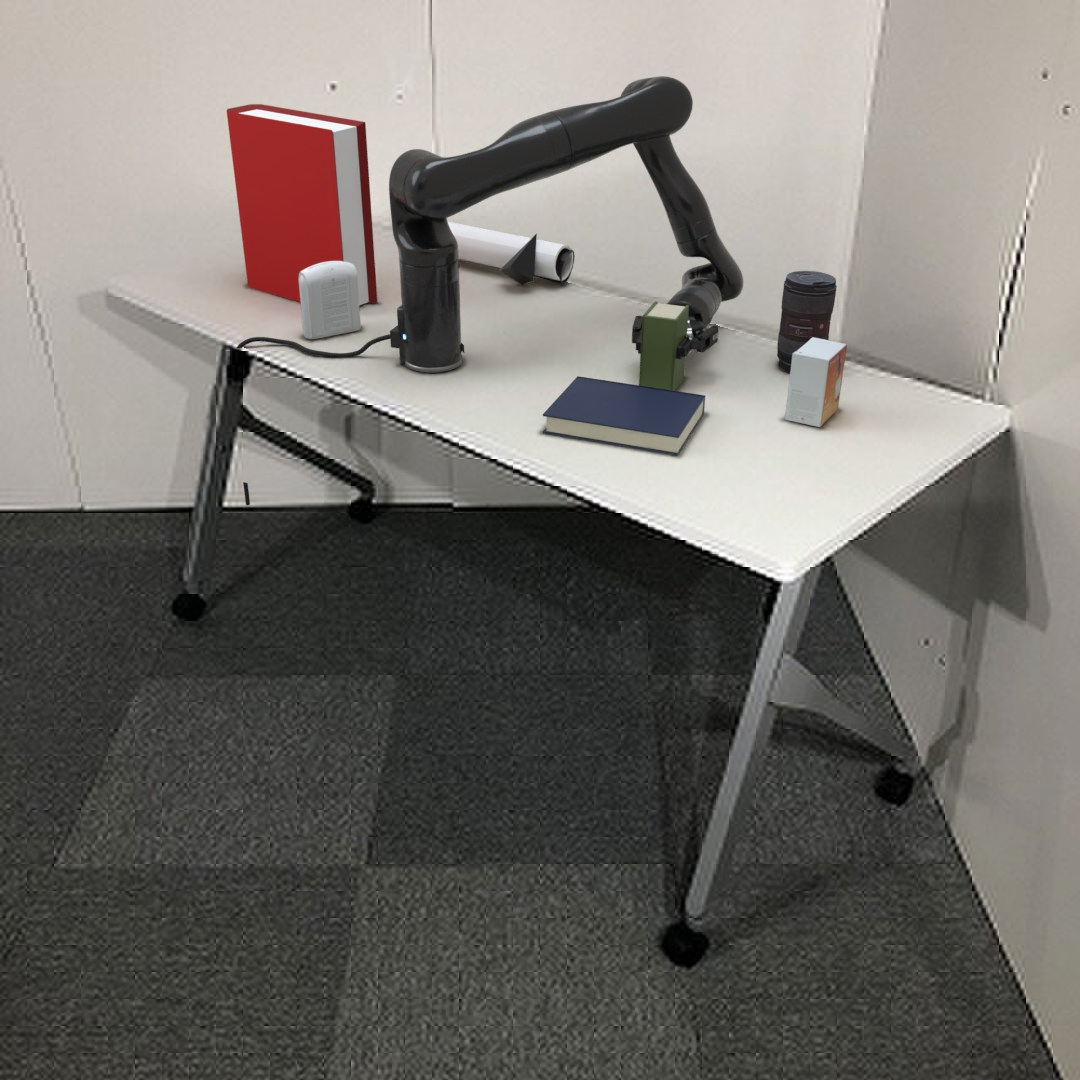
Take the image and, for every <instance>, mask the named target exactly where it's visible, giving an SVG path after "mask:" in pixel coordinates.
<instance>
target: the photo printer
mask: <svg viewBox="0 0 1080 1080" xmlns="http://www.w3.org/2000/svg"><path fill="white" fill-rule="evenodd" d="M299 290H300V302H299V303H300V312H301V313H300V314H301V322H302V323H301V324H302V332H303V337H304V338H305V339H307V340H316V339H322V338H326V337H327V338H328V337H331V336H332V337H333V336H336V335H343V334H347V333H352V332H357V331H360V330H361V326H362V325H361V313H360V312H361V311H360V305H359V294H358V278H357V271H356V268H355V266H354V265H353V264H351V263H349V262H344V261H328V262H322V263H318V264H315V265H312V266H310V267H308V268H306V269H304V270H302V271H301V272H300V273H299Z"/></svg>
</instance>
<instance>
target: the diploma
mask: <svg viewBox="0 0 1080 1080" xmlns="http://www.w3.org/2000/svg"><path fill="white" fill-rule="evenodd" d="M448 224H449V227H450V229H451V231H452V233H453V235H454V237H455V238H456V240H457V243H458V255H459V261H465V262H470V263H476V264H481V265H485V266H489V267H493V268H498V269H499V270H498V272H500V273H501V274H503V275H505V276H507V277H508V278H509V279H512V280H513V281H515V282H517V283H518V284H520V285H526V284H530V283H532V282H534V281H535V278H537V279H542V280H545V281H549V282H552V283H555V284H559V285H562V286H563V285H565V284H566V283H567V282H568V281H569V279H570V277H571V274H572V272H573V268H574V264H575V257H576V256H575V251H574V250H573V249H572V247H571V246H570V245H569V244H563V243H558V242H554V241H548V240H543V239H538V238H537V237H538V233H535V234H534V235H533V236H532V237H528V236H522V235H518V234H513V233H507V232H503V231H498V230H492V229H488V228H482V227H477V226H472V225H467V224H463V223H457V222H453V221H448Z"/></svg>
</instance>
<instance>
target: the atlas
mask: <svg viewBox="0 0 1080 1080" xmlns="http://www.w3.org/2000/svg"><path fill="white" fill-rule="evenodd" d="M705 405H706V395H704V394H698V393H692V392H686V391H685V392H684V391H680V390H679V391H678V390H675V391H672V390H666V389H659V388H653V387H646V386H639V384H633V383H632V384H631V383H626V382H625V383H624V382H619V381H613V380H605V379H598V378H593V377H592V378H591V377H586V376H579V375H578V376H576V377H575V378H574V380H572V381H571V383H570V384H569V385H568V386H567V387H566V388H565V389H564V390H563V391H562V393H560V394H559V396H558V397H557V398H556V399H555V400H554V401H553V402H552V403H551V404H550V406H548V408H547V409H546V410H545V411H544V412H543V413H542V417H546V426H545V428H544V430H542V434H545V435H551V436H557V437H563V438H569V439H574V440H575V439H576V440H580V441H587V442H593V443H599V444H605V445H610V446H616V447H622V448H629V449H635V450H640V451H641V450H642V451H646V452H652V453H658V454H663V455H671V456H676V457H677V456H679V454H680V453H681V451H682V450H683V448H684V446H686V443H687V441H688V440H689V438H690V437H691V436H692V434H693V432H694V431H695V429H696V427H697V426H698V424H699V422H700V421H701V420H702V418H703V416H704V415H705V408H706V407H705Z"/></svg>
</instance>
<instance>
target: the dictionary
mask: <svg viewBox="0 0 1080 1080" xmlns="http://www.w3.org/2000/svg"><path fill="white" fill-rule="evenodd" d="M688 313H689V305H686V307H685V306H677V305H669V304H667V303H660V302H658V301H657V300H655V301H654V302H653V303H652V304H651V306H649V307H648V309H647V310H646V311H645V312H644V313H643V314H642V315H641V316H642V331H641V353H640V354H639V356H640V357H639V374H638V377H639V379H638V380H639V381H638V385H639V386H646V387H653V388H659V389H666V390H672V391H677V389H678V387H679V386H680V384H681V383H682V382H683V380H684V379H685V374H686V373H685V370H686V357H687V356H686V357H682V359H681V360H680V359H676V352H677V346H678V344H679V343H680V341H681V340H682V339H683V338H685V334H686V333H687V328H688Z"/></svg>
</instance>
